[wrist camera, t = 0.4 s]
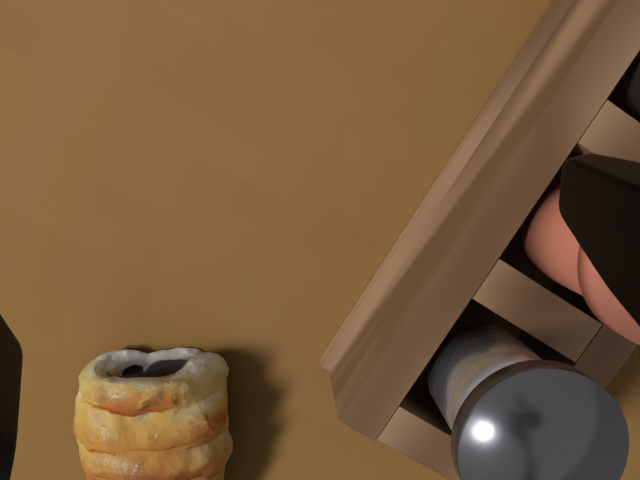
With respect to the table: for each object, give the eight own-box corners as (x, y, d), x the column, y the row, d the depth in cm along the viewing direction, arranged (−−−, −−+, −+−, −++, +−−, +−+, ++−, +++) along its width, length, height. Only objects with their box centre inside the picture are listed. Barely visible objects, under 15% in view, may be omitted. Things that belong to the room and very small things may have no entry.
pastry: (242, 522, 27) (234, 584, 23) (101, 532, 27) (69, 595, 23) (230, 337, 25) (218, 371, 21) (79, 345, 25) (41, 381, 21)
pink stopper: (663, 209, 21) (804, 234, 15) (586, 318, 22) (694, 381, 16) (559, 138, 20) (666, 135, 15) (483, 252, 21) (556, 293, 15)
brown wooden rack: (747, 68, 24) (870, 47, 19) (477, 450, 27) (522, 523, 22) (587, -53, 23) (672, -109, 18) (319, 359, 25) (327, 414, 20)
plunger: (564, 350, 22) (662, 423, 16) (491, 452, 22) (562, 558, 17) (460, 285, 21) (525, 338, 15) (388, 392, 22) (425, 481, 16)
